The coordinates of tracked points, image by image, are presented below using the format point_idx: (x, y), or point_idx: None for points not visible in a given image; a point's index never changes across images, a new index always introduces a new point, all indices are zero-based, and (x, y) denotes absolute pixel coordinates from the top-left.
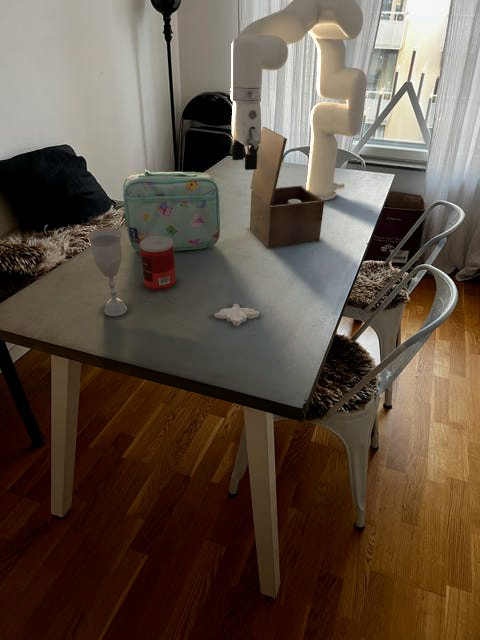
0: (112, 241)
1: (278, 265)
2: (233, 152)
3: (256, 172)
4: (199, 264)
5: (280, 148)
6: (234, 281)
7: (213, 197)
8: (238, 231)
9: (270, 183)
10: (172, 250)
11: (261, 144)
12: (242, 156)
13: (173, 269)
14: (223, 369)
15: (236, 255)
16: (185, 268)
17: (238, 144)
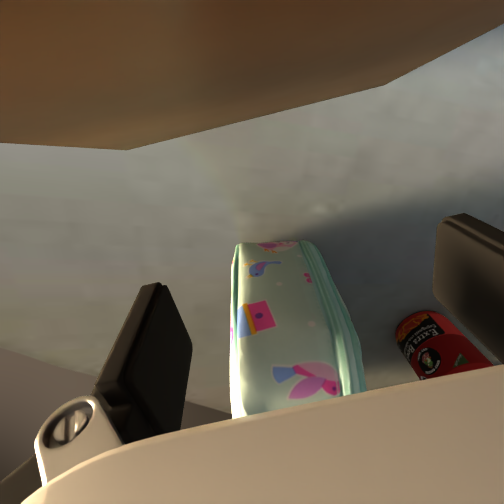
0: None
1: (435, 75)
2: (181, 394)
3: (126, 133)
4: (368, 270)
5: None
6: (468, 206)
7: (355, 332)
8: (186, 164)
9: (390, 67)
10: (489, 364)
11: None
12: (165, 304)
13: (458, 332)
14: None
15: (344, 188)
16: (378, 294)
17: (144, 432)
